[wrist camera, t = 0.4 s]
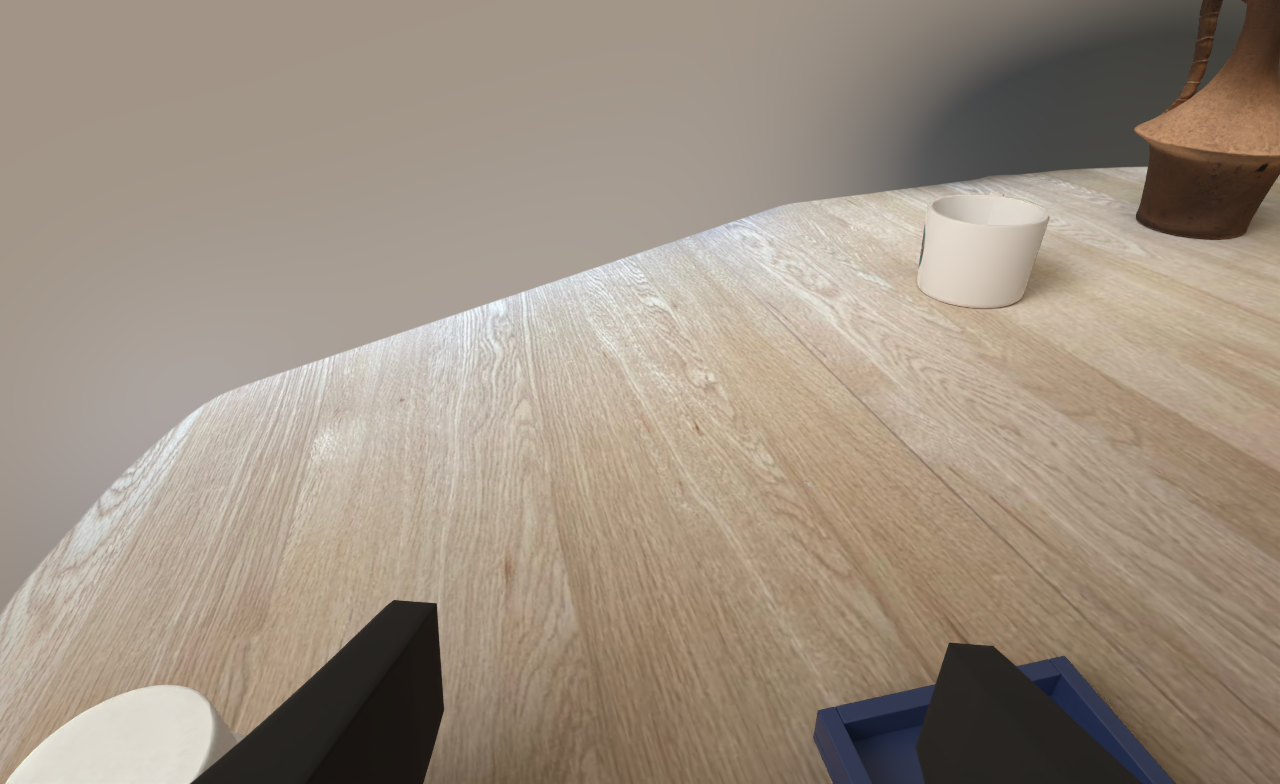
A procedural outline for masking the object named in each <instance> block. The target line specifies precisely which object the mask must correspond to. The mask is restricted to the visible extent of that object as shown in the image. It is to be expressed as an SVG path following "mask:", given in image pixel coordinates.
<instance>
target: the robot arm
mask: <svg viewBox="0 0 1280 784" xmlns="http://www.w3.org/2000/svg"><path fill="white" fill-rule="evenodd" d="M443 712H444V703H443V688H442V674H441V660H440V646H439V631H438V617H437V603H424V602H411V601H398V600H393V601H392V602H391V603H390V604H388V605H387V606H386V607H385V608H384V609H383V610H382V611H381V612H380V613H378V614H377V615H376V616H375V617H374V618H373V619H372V620H371V621H370V622H369V623H368V624H367V625H366V626H365V627H364V628H363V629H362V630H361V631H360V632H359V633H358V634H357V635H356V636H355V637H354V638H353V639H351V640H350V641H349V642H348V643H347V644H346V645H345V646H344V647H343V648H342V649H341V650H340V651H339V652H338V653H337V654H336V655H335V656H334V657H333V658H332V659H331V660H330V661H328V662H327V663H326V664H325V665H324V666H323V667H322V668H321V669H320V670H319V671H318V672H317V673H316V674H315V675H314V676H313V677H312V678H310V679H309V680H308V681H307V682H306V683H305V684H304V685H303V686H302V687H301V688H299V689H298V690H297V691H296V692H295V693H294V694H293V695H292V696H291V697H290V698H288V699H287V700H286V701H285V702H284V703H283V704H282V705H281V706H280V707H279V708H277V709H276V710H275V711H274V712H273V713H272V714H271V715H270V716H269V717H268V718H266V719H265V720H264V721H263V722H262V723H261V724H260V725H259V726H257V727H256V728H255V729H254V730H253V731H252V732H251V733H249V734H248V735H247V736H246V737H245V738H244V739H242V740H241V741H240V742H239V743H238V744H236V745H235V746H234V747H233V748H232V749H230V750H229V751H228V752H227V753H226V754H225V755H223V756H222V757H221V758H220V759H219V760H217V761H216V762H215V763H214V764H213V765H211V766H210V767H209V768H208V769H207V770H206V771H204V772H203V773H202V774H201V775H200V776H198V777H197V778H196V779H195V780H194V781H192V782H191V783H190V784H423V782H424V779H425V776H426V772H427V769H428V765H429V762H430V759H431V755H432V752H433V748H434V745H435V741H436V737H437V734H438V730H439V726H440V723H441V719H442V715H443ZM916 751H917V755H918V759H919V763H920V767H921V771H922V775H923V779H924V783H925V784H1143V783H1142V782H1141V781H1140V780H1138V779H1137V778H1136V777H1135V776H1134V775H1133V774H1132V773H1131V772H1130V771H1129V770H1127V769H1126V768H1125V767H1124V766H1123V765H1122V764H1121V763H1120V762H1119V761H1118V760H1116V759H1115V758H1114V757H1113V756H1112V755H1111V754H1110V753H1109V752H1108V751H1107V750H1106V749H1104V748H1103V747H1102V746H1101V745H1100V744H1099V743H1098V742H1097V741H1096V740H1095V739H1094V738H1093V737H1091V736H1090V735H1089V734H1088V733H1087V732H1086V731H1085V730H1084V729H1083V728H1082V727H1081V726H1080V725H1079V724H1077V723H1076V722H1075V721H1074V720H1073V719H1072V718H1071V717H1070V716H1069V715H1068V714H1067V713H1066V712H1065V711H1064V710H1062V709H1061V708H1060V707H1059V706H1058V705H1057V704H1056V703H1055V702H1054V701H1053V700H1052V699H1051V698H1050V697H1049V696H1047V695H1046V694H1045V693H1044V692H1043V691H1042V690H1041V689H1040V688H1039V687H1038V686H1037V685H1036V684H1035V683H1034V682H1032V681H1031V680H1030V679H1029V678H1028V677H1027V676H1026V675H1025V674H1024V673H1023V672H1022V671H1021V670H1019V669H1018V668H1017V667H1016V666H1015V665H1014V664H1013V663H1012V662H1011V661H1009V660H1008V659H1007V658H1006V657H1005V656H1004V655H1003V654H1002V653H1000V652H999V651H998V650H997V649H996V648H995V647H993V646H985V645H972V644H959V643H949V645H948V648H947V651H946V654H945V657H944V660H943V663H942V667H941V670H940V673H939V676H938V679H937V682H936V685H935V688H934V691H933V694H932V697H931V701H930V704H929V707H928V710H927V713H926V716H925V719H924V722H923V725H922V728H921V731H920V734H919V738H918V741H917V744H916Z"/></svg>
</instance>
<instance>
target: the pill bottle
mask: <svg viewBox="0 0 1280 784" xmlns="http://www.w3.org/2000/svg"><path fill="white" fill-rule="evenodd" d="M245 737H246V736H245V735H242V734H239V733H235V732H232V731H231V730H230V728H229V727H228V725H227V724H226V723H225V722H224V721H223V719H222V718H221V716H220V715H219V713H218V711H217V710H216V708H215V707H214V705H213V704H212V703H211V702H210V701H209V700H208V698H207V697H205V696H204V695H203V694H201V693H200V692H198V691H196V690H194V689H191V688H188V687H184V686H178V685H156V686H149V687H144V688H140V689H135V690H132V691H129V692H126V693H123V694H120V695H118V696H115V697H113V698H110V699H108V700H106V701H104V702H102V703H100V704H98V705H96V706H94V707H92V708H90V709H88V710H87V711H85V712H83V713H81V714H79V715H78V716H76V717H75V718H73V719H72V720H70V721H69V722H68V723H66V724H65V725H63V726H62V727H61V728H59V729H58V730H57V731H55V732H54V733H53V734H52V735H50V736H49V737H48V738H47V739H46V740H44V741H43V742H42V743H41V744H40V745H39V746H38V747H37V748H36V749H35V750H34V751H33V752H31V753H30V754H29V755H28V757H27V758H26V759H25V760H24V761H23V762H22V763H21V764H20V765H19V766H18V768H17V769H16V770H15V771H14V772H13V774H12V775H11V776H10V778H9V779H8V781H7V782H6V783H5V784H190V783H191V782H192V781H194V780H195V779H196V778H197V777H198V776H200V775H201V774H202V773H203V772H204V771H206V770H207V769H208V768H209V767H210V766H211V765H213V764H214V763H215V762H216V761H217V760H219V759H220V758H221V757H222V756H223V755H225V754H226V753H227V752H228V751H229V750H230V749H232V748H233V747H234V746H235V745H236V744H238V743H239V742H240V741H241V740H242V739H244V738H245Z"/></svg>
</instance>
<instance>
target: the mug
mask: <svg viewBox="0 0 1280 784" xmlns="http://www.w3.org/2000/svg"><path fill="white" fill-rule="evenodd" d="M1048 221H1049V214H1048V211H1047V210H1045V209H1044V208H1043V207H1041V206H1039V205H1037V204H1035V203H1032V202H1028V201H1025V200H1021V199H1016V198H1012V197H1005V196H1004V194H1003V193H1002V192H998V191H994V192H991V193H989V194H988V195H986V194H960V195H950V196H944V197H940V198H937V199H934V200H933V201H932V202H930V203H929V204H928V207H927V212H926V219H925V227H924V234H923V241H922V248H921V255H920V262H919V270H918V277H917V285H918V287H919V289H920V290H921V291H922V292H924V293H925V294H926V295H928V296H930V297H932V298H933V299H936V300H938V301H941V302H944V303H947V304H952V305H956V306H962V307H969V308H999V307H1004V306H1008V305H1011V304H1013V303H1015V302H1017V301H1019V300H1020V299H1021V298H1022V297H1023V295H1024V292H1025V289H1026V286H1027V283H1028V280H1029V277H1030V274H1031V271H1032V268H1033V265H1034V262H1035V259H1036V257H1037V254H1038V251H1039V248H1040V245H1041V242H1042V239H1043V236H1044V233H1045V230H1046V227H1047V224H1048Z"/></svg>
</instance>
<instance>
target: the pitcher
mask: <svg viewBox="0 0 1280 784" xmlns="http://www.w3.org/2000/svg"><path fill="white" fill-rule="evenodd" d="M1222 1H1223V0H1203V3H1202V6H1201V10H1200V17H1199V27H1198V36H1197V37H1198V38H1197V41H1196V47H1195V54H1194V60H1193V64H1192V67H1191V70H1190V73H1189V77H1188V81H1187V83H1186V84H1185V86H1184V88H1183V90H1182V91H1181V93H1180V95H1179V97H1178V98H1177V99H1176V100H1175V101H1174V103H1173V104H1172V105H1171V106H1170V107H1169V108H1168V109H1167V110H1166V111H1165V112H1164V113H1162V114H1161V115H1160V116H1159V117H1157V118H1154V119H1152V120H1150V121H1148V122H1145V123H1143V124H1141V125H1138V126H1137V127H1136V128H1134V131H1135V132H1136V133H1137V134H1139V135H1140V136H1142V137H1143V138H1144V139H1146V140H1147V141H1148V143H1149V147H1150V157H1149V165H1148V171H1147V176H1146V181H1145V185H1144V190H1143V194H1142V199H1141V203H1140V206H1139V209H1138V212H1137V214H1136V219H1137V220H1138V221H1139V222H1140V223H1142V224H1144V225H1145V226H1147V227H1150V228H1152V229H1155V230H1158V231H1161V232H1165V233H1168V234H1173V235H1178V236H1183V237H1191V238H1202V239H1227V238H1234V237H1237V236H1241V235H1243V234H1244V233H1245V232H1246V230H1247V228H1248V226H1249V224H1250V221H1251V220H1252V218H1253V216H1254V214H1255V213H1256V211H1257V209H1258V208H1259V206H1260V204H1261V203H1262V201H1263V199H1264V198H1265V196H1266V195H1267V193H1268V191H1269V190H1270V188H1271V186H1272V185H1273V184H1274V182H1275V181H1276V179H1277V178H1278V176H1279V175H1280V85H1279V74H1278V71H1279V70H1278V69H1279V67H1278V66H1279V58H1280V0H1242V1H1244V2H1245V3H1247V11H1246V18H1245V22H1244V25H1243V28H1242V31H1241V34H1240V36H1239V38H1238V41H1237V43H1236V46H1235V48H1234V50H1233V52H1232V54H1231V56H1230V57H1229V59H1228V61H1227V62H1226V64H1225V65H1224V66H1223V68H1222V69H1221V70H1220V72H1219V73H1218V74H1217V75H1216V76H1215V77H1214V78H1213V79H1212V80H1211V82H1209V83H1208V85H1206V86H1205V87H1204V88H1203V89H1202V90H1201V91H1199V92H1198V93H1197V94H1196V95H1194V93H1195V92H1196V90H1197V87H1198V85H1199V84H1200V80H1201V79H1202V77H1203V75H1204V74H1205V70H1206V66H1207V63H1208V57H1209V56H1210V53H1211V50H1212V42H1213V40H1214V37H1213V35H1214V32H1215V29H1216V26H1217V18H1218V15H1219V11H1220V8H1221V4H1222ZM1193 95H1194V96H1193ZM1192 96H1193V97H1192Z"/></svg>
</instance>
